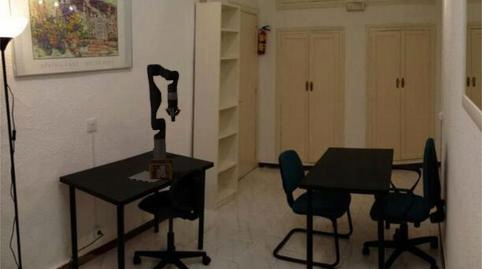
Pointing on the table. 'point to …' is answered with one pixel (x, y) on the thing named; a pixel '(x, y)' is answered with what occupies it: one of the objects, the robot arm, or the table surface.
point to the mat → (144, 177)
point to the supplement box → (161, 168)
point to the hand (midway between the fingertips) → (173, 121)
